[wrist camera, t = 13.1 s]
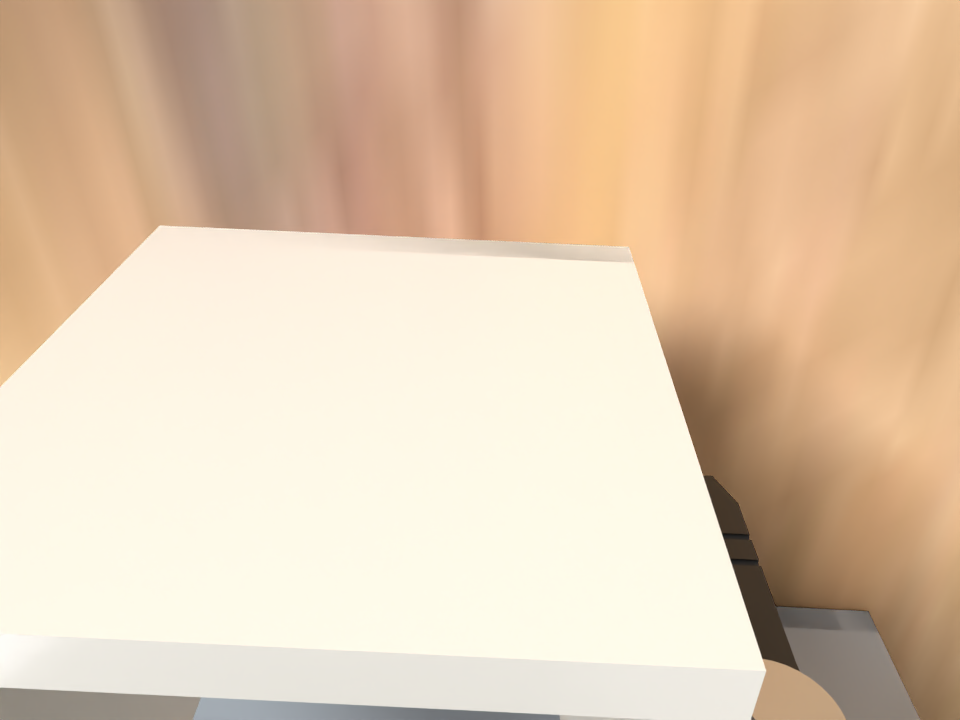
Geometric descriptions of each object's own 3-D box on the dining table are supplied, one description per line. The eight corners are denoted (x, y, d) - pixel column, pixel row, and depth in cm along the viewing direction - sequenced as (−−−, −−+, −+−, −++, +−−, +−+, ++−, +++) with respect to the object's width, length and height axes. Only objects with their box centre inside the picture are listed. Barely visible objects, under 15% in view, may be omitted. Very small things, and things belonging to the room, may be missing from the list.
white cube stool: (629, 246, 11) (766, 671, 5) (582, 586, 14) (634, 1086, 8) (159, 225, 11) (-233, 622, 5) (217, 568, 14) (15, 1054, 8)
